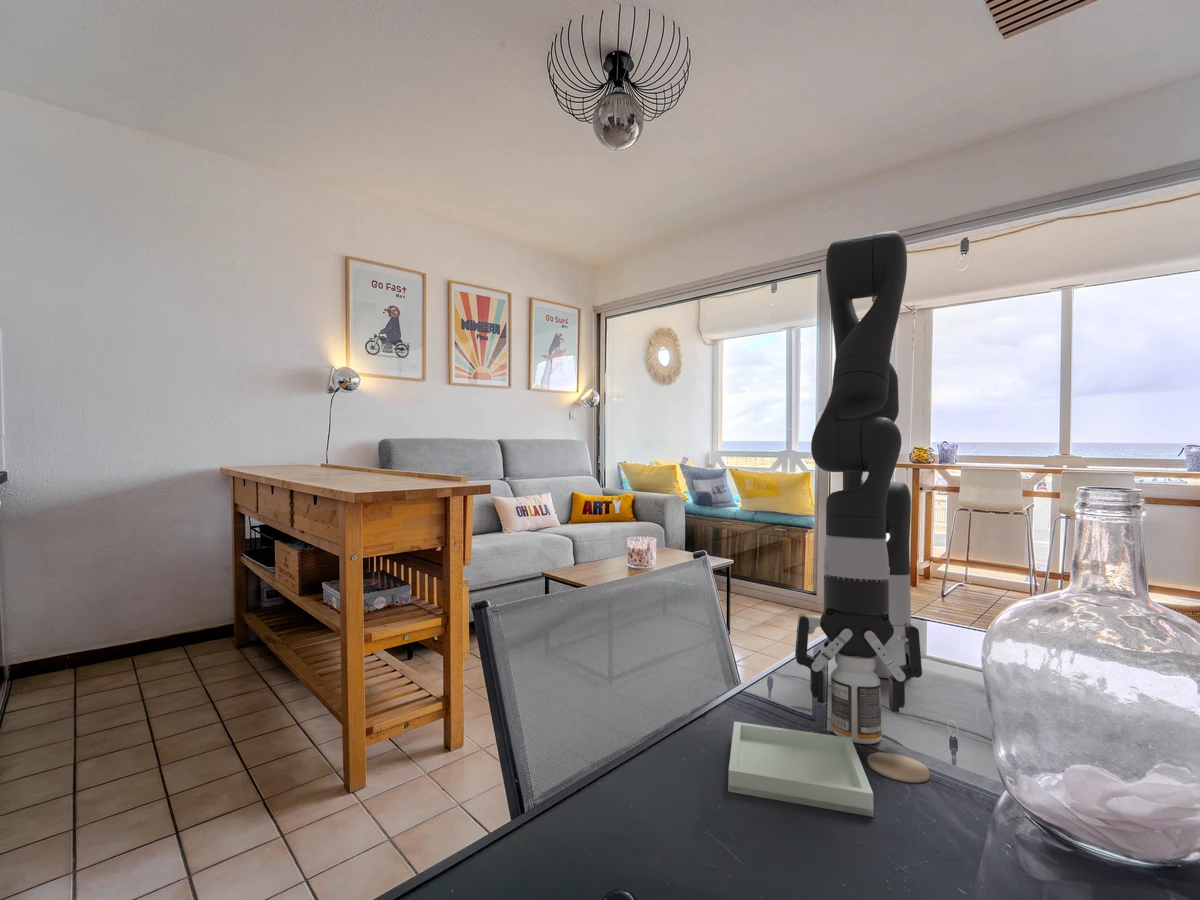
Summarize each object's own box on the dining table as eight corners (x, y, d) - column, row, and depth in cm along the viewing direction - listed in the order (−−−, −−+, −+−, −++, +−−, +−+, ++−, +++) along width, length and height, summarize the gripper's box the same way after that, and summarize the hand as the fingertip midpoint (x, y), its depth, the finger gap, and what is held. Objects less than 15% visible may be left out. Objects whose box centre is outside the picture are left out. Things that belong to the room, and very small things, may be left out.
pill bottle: (877, 731, 71) (877, 651, 72) (885, 749, 66) (884, 662, 67) (829, 723, 73) (829, 646, 74) (832, 741, 68) (832, 656, 68)
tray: (733, 738, 67) (734, 721, 67) (851, 756, 64) (851, 737, 64) (728, 791, 55) (728, 770, 55) (873, 816, 51) (873, 794, 51)
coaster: (863, 752, 65) (863, 749, 65) (921, 761, 63) (921, 757, 63) (873, 776, 59) (873, 772, 59) (937, 786, 57) (937, 782, 57)
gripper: (910, 574, 73) (911, 703, 71) (794, 566, 77) (793, 689, 75) (926, 581, 66) (929, 725, 64) (798, 572, 69) (797, 707, 68)
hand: (855, 705), depth 69 cm, fingers open, 8 cm apart
